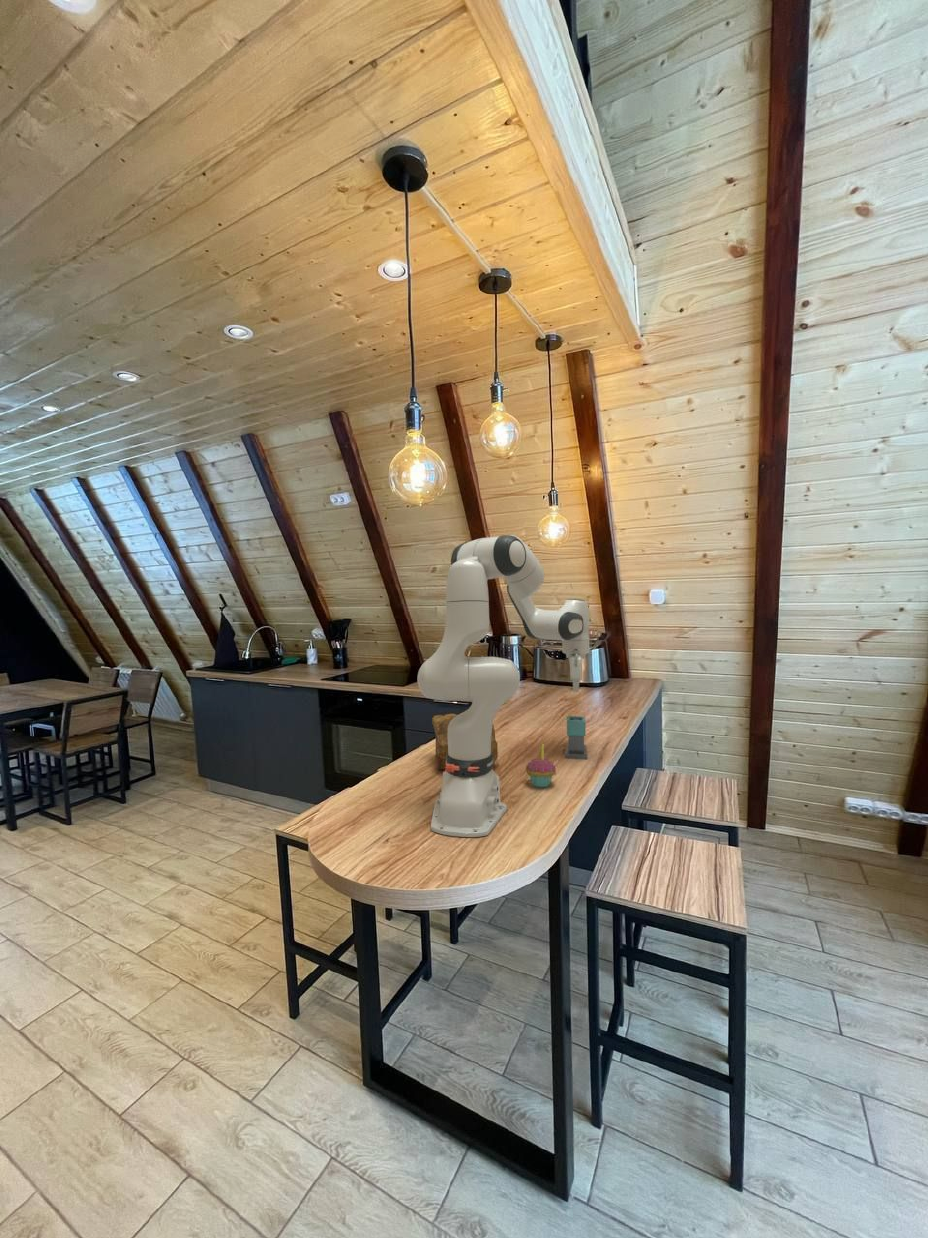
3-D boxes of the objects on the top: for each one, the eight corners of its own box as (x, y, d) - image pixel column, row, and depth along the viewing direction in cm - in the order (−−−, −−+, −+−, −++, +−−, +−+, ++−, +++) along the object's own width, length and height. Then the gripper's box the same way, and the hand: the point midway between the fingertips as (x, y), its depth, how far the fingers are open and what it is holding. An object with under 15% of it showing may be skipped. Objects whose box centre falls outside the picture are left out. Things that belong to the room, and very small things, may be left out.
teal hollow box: (585, 736, 162) (585, 721, 161) (566, 735, 163) (566, 720, 163) (585, 731, 167) (585, 716, 167) (567, 730, 169) (567, 715, 168)
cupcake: (531, 776, 146) (531, 737, 145) (559, 781, 142) (559, 740, 142) (522, 787, 139) (521, 745, 138) (551, 792, 135) (551, 749, 134)
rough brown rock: (412, 769, 156) (410, 724, 153) (441, 750, 170) (440, 708, 167) (475, 786, 143) (474, 738, 141) (501, 764, 157) (500, 719, 155)
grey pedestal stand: (587, 759, 160) (587, 724, 159) (565, 758, 162) (565, 723, 161) (586, 746, 173) (586, 714, 172) (565, 745, 174) (565, 713, 173)
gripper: (586, 652, 153) (586, 696, 154) (584, 643, 172) (584, 682, 174) (565, 651, 154) (565, 695, 155) (566, 643, 174) (566, 682, 175)
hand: (575, 688), depth 164 cm, fingers open, 8 cm apart
